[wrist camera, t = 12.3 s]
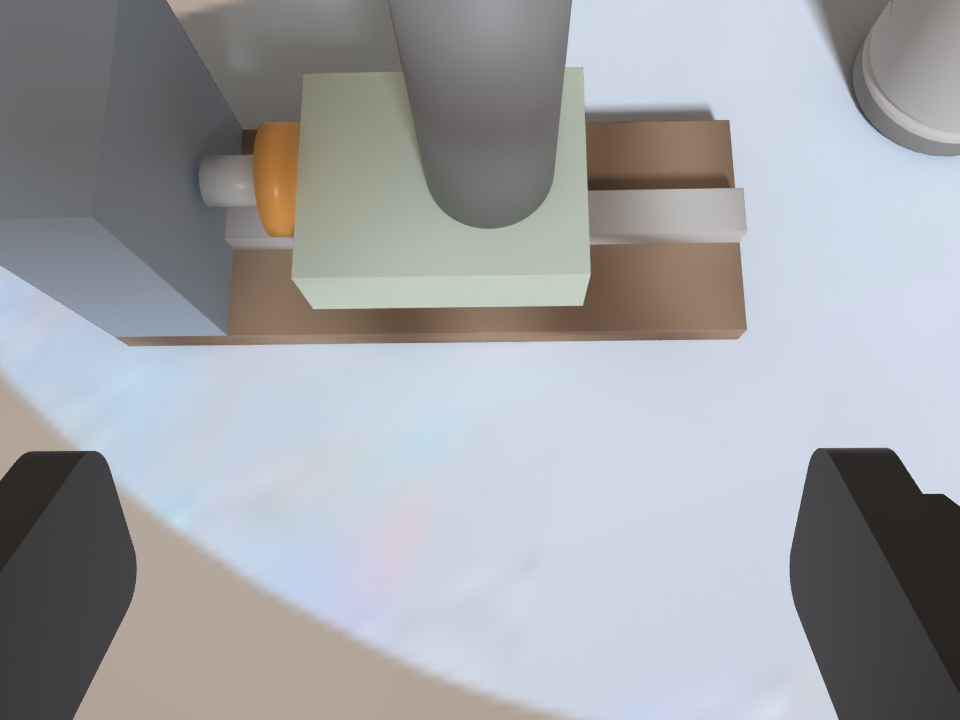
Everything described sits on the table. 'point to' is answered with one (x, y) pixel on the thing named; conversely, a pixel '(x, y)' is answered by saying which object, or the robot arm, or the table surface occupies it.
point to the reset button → (258, 177)
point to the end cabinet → (113, 165)
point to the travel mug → (913, 75)
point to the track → (613, 259)
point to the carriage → (448, 166)
